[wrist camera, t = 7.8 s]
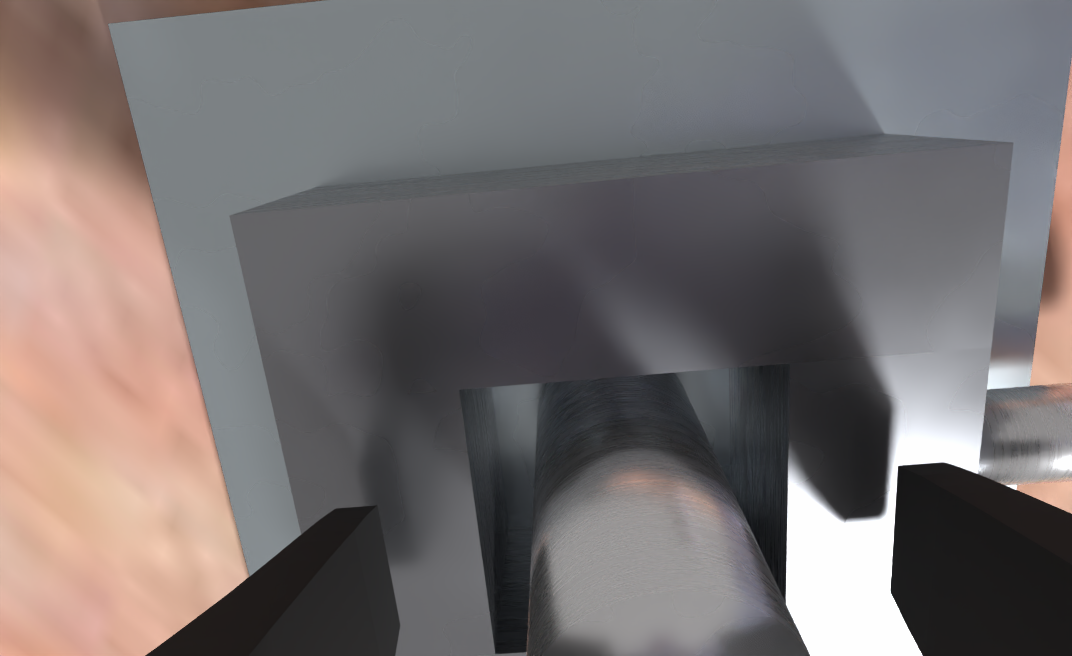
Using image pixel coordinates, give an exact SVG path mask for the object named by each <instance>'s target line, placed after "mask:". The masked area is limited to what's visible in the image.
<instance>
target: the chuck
mask: <svg viewBox="0 0 1072 656" xmlns="http://www.w3.org/2000/svg"><path fill="white" fill-rule="evenodd" d="M108 26H109V30H110V34H111V38H112V41H113V45H114V49H115V53H116V57H117V61H118V65H119V69H120V73H121V77H122V80H123V84H124V88H125V92H126V96H127V100H128V104H129V108H130V112H131V116H132V119H133V123H134V127H135V131H136V135H137V139H138V143H139V147H140V151H141V155H142V159H143V162H144V166H145V170H146V174H147V178H148V182H149V186H150V190H151V194H152V198H153V201H154V205H155V209H156V213H157V217H158V221H159V225H160V229H161V233H162V237H163V240H164V244H165V248H166V252H167V256H168V260H169V264H170V268H171V272H172V276H173V279H174V283H175V287H176V291H177V295H178V299H179V303H180V307H181V311H182V315H183V318H184V322H185V326H186V330H187V334H188V338H189V342H190V346H191V350H192V354H193V357H194V361H195V365H196V369H197V373H198V377H199V381H200V385H201V389H202V393H203V396H204V400H205V404H206V408H207V412H208V416H209V420H210V424H211V428H212V432H213V435H214V439H215V443H216V447H217V451H218V455H219V459H220V463H221V467H222V471H223V474H224V478H225V482H226V486H227V490H228V494H229V498H230V502H231V506H232V510H233V513H234V517H235V521H236V525H237V529H238V533H239V537H240V541H241V545H242V549H243V553H244V556H245V560H246V564H247V568H248V572H249V576H251V575H252V574H253V573H255V572H256V571H257V570H258V569H260V568H261V567H262V566H263V565H265V564H266V563H267V562H268V561H269V560H271V559H272V558H273V557H274V556H276V555H277V554H278V553H279V552H280V551H282V550H283V549H284V548H285V547H286V546H288V545H289V544H290V543H291V542H293V541H294V540H295V539H296V538H297V537H299V536H300V535H301V534H302V533H304V532H305V531H306V530H307V529H309V528H310V527H311V526H312V525H314V524H315V523H316V522H317V521H319V520H320V519H321V518H323V517H324V516H325V515H327V514H328V513H330V512H331V511H333V510H334V509H336V508H348V507H361V506H374V505H378V510H379V515H380V521H381V526H382V531H383V536H384V542H385V547H386V552H387V557H388V563H389V568H390V573H391V578H392V584H393V589H394V594H395V599H396V605H397V610H398V615H399V620H400V630H399V636H398V642H397V648H396V654H395V656H527V638H528V615H529V592H530V569H531V546H532V524H533V501H534V478H535V455H536V432H537V413H538V405H539V401H540V398H541V395H542V392H543V390H544V388H545V386H546V384H547V383H549V382H561V381H574V380H587V379H599V378H612V377H625V376H637V375H650V374H662V373H675V374H676V375H677V377H678V379H679V380H680V382H681V383H682V385H683V387H684V389H685V391H686V394H687V396H688V398H689V400H690V402H691V404H692V406H693V408H694V410H695V413H696V415H697V417H698V419H699V421H700V423H701V425H702V427H703V429H704V432H705V434H706V436H707V438H708V440H709V442H710V444H711V446H712V449H713V451H714V453H715V455H716V457H717V459H718V461H719V463H720V465H721V468H722V470H723V472H724V474H725V476H726V478H727V480H728V482H729V484H730V487H731V489H732V491H733V493H734V495H735V497H736V499H737V501H738V503H739V506H740V508H741V510H742V512H743V514H744V516H745V518H746V520H747V522H748V525H749V527H750V529H751V531H752V533H753V535H754V537H755V539H756V541H757V544H758V546H759V548H760V550H761V552H762V554H763V556H764V558H765V561H766V563H767V565H768V567H769V569H770V571H771V573H772V575H773V577H774V580H775V582H776V584H777V586H778V588H779V590H780V592H781V594H782V596H783V599H784V601H785V603H786V605H787V607H788V609H789V611H790V613H791V615H792V618H793V620H794V622H795V624H796V626H797V628H798V630H799V632H800V634H801V637H802V639H803V641H804V643H805V645H806V647H807V649H808V651H809V653H810V656H922V655H921V653H920V651H919V649H918V647H917V645H916V643H915V642H914V640H913V638H912V636H911V634H910V632H909V630H908V628H907V626H906V624H905V622H904V620H903V618H902V616H901V614H900V612H899V610H898V608H897V606H896V604H895V602H894V600H893V597H892V595H891V593H890V582H891V566H892V550H893V535H894V519H895V503H896V487H897V472H898V466H899V465H912V464H925V463H939V462H945V463H949V464H952V465H955V466H958V467H961V468H963V469H966V470H969V471H972V472H974V473H977V474H979V475H982V476H984V477H987V478H989V479H991V480H994V481H996V482H999V483H1001V484H1004V485H1006V486H1008V487H1011V488H1013V489H1015V490H1016V487H1017V485H1021V484H1036V483H1050V482H1064V481H1072V383H1065V384H1052V385H1039V386H1030V378H1031V370H1032V362H1033V355H1034V347H1035V339H1036V331H1037V323H1038V316H1039V308H1040V300H1041V292H1042V284H1043V276H1044V269H1045V261H1046V253H1047V245H1048V237H1049V230H1050V222H1051V214H1052V206H1053V198H1054V191H1055V183H1056V175H1057V167H1058V159H1059V151H1060V144H1061V136H1062V128H1063V120H1064V112H1065V105H1066V97H1067V89H1068V81H1069V73H1070V65H1071V58H1072V0H324V1H315V2H306V3H296V4H287V5H278V6H269V7H259V8H250V9H241V10H231V11H222V12H213V13H203V14H194V15H185V16H176V17H166V18H157V19H148V20H138V21H129V22H120V23H111V24H108Z"/></svg>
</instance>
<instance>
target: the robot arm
mask: <svg viewBox="0 0 1072 656" xmlns="http://www.w3.org/2000/svg"><path fill="white" fill-rule="evenodd" d="M890 593H891V595H892V597H893V600H894V602H895V604H896V606H897V608H898V610H899V612H900V614H901V616H902V618H903V620H904V622H905V624H906V626H907V628H908V630H909V632H910V634H911V636H912V638H913V640H914V642H915V643H916V645H917V647H918V649H919V651H920V653H921V655H922V656H1072V514H1071V513H1068V512H1066V511H1064V510H1061V509H1059V508H1057V507H1055V506H1052V505H1050V504H1048V503H1045V502H1043V501H1041V500H1038V499H1036V498H1034V497H1031V496H1029V495H1027V494H1025V493H1022V492H1020V491H1018V490H1015V489H1013V488H1011V487H1008V486H1006V485H1004V484H1001V483H999V482H996V481H994V480H991V479H989V478H987V477H984V476H982V475H979V474H977V473H974V472H972V471H969V470H966V469H963V468H961V467H958V466H955V465H952V464H949V463H945V462H939V463H925V464H912V465H899V466H898V472H897V487H896V503H895V519H894V535H893V550H892V566H891V582H890ZM399 630H400V620H399V615H398V610H397V605H396V599H395V594H394V589H393V584H392V578H391V573H390V568H389V563H388V557H387V552H386V547H385V542H384V536H383V531H382V526H381V521H380V515H379V510H378V505H374V506H361V507H348V508H336V509H334V510H333V511H331V512H330V513H328V514H327V515H325V516H324V517H323V518H321V519H320V520H319V521H317V522H316V523H315V524H314V525H312V526H311V527H310V528H309V529H307V530H306V531H305V532H304V533H302V534H301V535H300V536H299V537H297V538H296V539H295V540H294V541H293V542H291V543H290V544H289V545H288V546H286V547H285V548H284V549H283V550H282V551H280V552H279V553H278V554H277V555H276V556H274V557H273V558H272V559H271V560H269V561H268V562H267V563H266V564H265V565H263V566H262V567H261V568H260V569H258V570H257V571H256V572H255V573H253V574H252V575H251V576H250V577H249V578H247V579H246V580H245V581H244V582H242V583H241V584H240V585H239V586H237V587H236V588H235V589H234V590H232V591H231V592H230V593H229V594H227V595H226V596H225V597H224V598H222V599H221V600H220V601H218V602H217V603H216V604H214V605H213V606H212V607H210V608H209V609H208V610H206V611H205V612H204V613H202V614H201V615H200V616H198V617H197V618H196V619H194V620H193V621H192V622H190V623H189V624H188V625H186V626H185V627H184V628H182V629H181V630H180V631H178V632H177V633H176V634H174V635H173V636H172V637H170V638H169V639H168V640H166V641H165V642H164V643H162V644H161V645H160V646H158V647H157V648H156V649H154V650H153V651H151V652H150V653H148V654H147V655H146V656H395V654H396V648H397V642H398V636H399Z"/></svg>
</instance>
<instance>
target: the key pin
mask: <svg viewBox="0 0 1072 656" xmlns="http://www.w3.org/2000/svg"><path fill="white" fill-rule="evenodd" d="M527 656H810V653H809V651H808V649H807V647H806V645H805V643H804V641H803V639H802V637H801V634H800V632H799V630H798V628H797V626H796V624H795V622H794V620H793V618H792V615H791V613H790V611H789V609H788V607H787V605H786V603H785V601H784V599H783V596H782V594H781V592H780V590H779V588H778V586H777V584H776V582H775V580H774V577H773V575H772V573H771V571H770V569H769V567H768V565H767V563H766V561H765V558H764V556H763V554H762V552H761V550H760V548H759V546H758V544H757V541H756V539H755V537H754V535H753V533H752V531H751V529H750V527H749V525H748V522H747V520H746V518H745V516H744V514H743V512H742V510H741V508H740V506H739V503H738V501H737V499H736V497H735V495H734V493H733V491H732V489H731V487H730V484H729V482H728V480H727V478H726V476H725V474H724V472H723V470H722V468H721V465H720V463H719V461H718V459H717V457H716V455H715V453H714V451H713V449H712V446H711V444H710V442H709V440H708V438H707V436H706V434H705V432H704V429H703V427H702V425H701V423H700V421H699V419H698V417H697V415H696V413H695V410H694V408H693V406H692V404H691V402H690V400H689V398H688V396H687V394H686V391H685V389H684V387H683V385H682V383H681V382H680V380H679V379H678V377H677V375H676V374H675V373H662V374H650V375H637V376H625V377H612V378H599V379H587V380H574V381H561V382H549V383H547V384H546V386H545V388H544V390H543V392H542V395H541V398H540V401H539V405H538V413H537V432H536V455H535V478H534V501H533V524H532V546H531V569H530V592H529V615H528V638H527Z"/></svg>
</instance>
